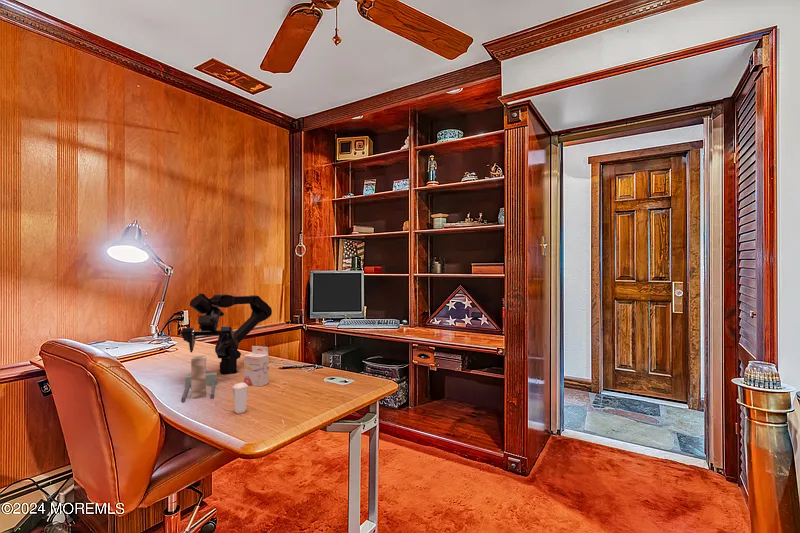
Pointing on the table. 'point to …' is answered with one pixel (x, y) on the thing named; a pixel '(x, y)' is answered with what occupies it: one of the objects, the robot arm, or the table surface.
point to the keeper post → (198, 377)
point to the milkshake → (240, 397)
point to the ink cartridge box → (256, 367)
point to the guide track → (210, 380)
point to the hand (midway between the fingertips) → (203, 351)
